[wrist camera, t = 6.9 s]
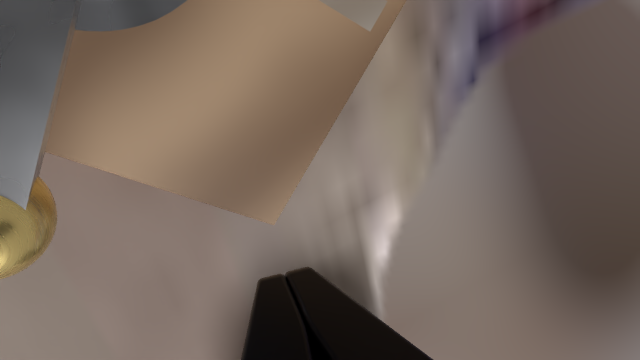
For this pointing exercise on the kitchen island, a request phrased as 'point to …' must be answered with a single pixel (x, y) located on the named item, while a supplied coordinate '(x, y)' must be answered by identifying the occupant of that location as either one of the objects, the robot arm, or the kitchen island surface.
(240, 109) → the stand
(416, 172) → the kitchen island surface
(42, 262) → the kitchen island surface
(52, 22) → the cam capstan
